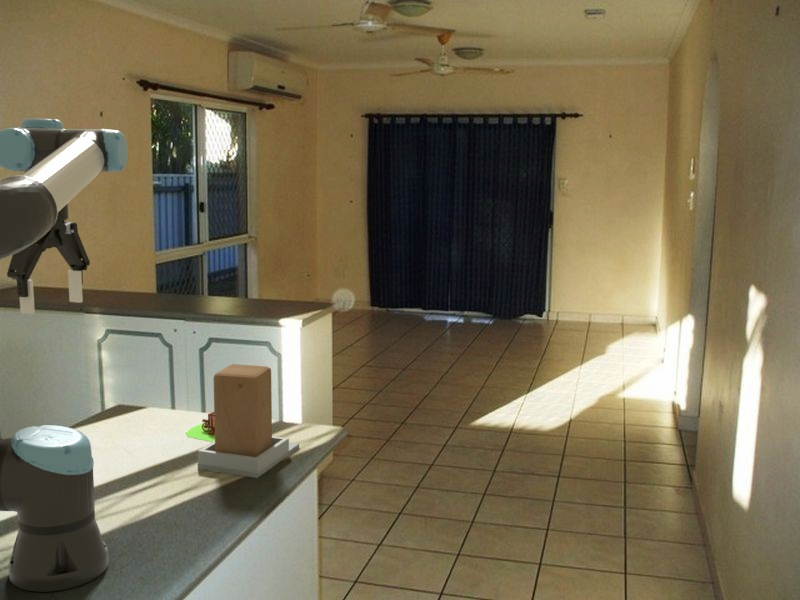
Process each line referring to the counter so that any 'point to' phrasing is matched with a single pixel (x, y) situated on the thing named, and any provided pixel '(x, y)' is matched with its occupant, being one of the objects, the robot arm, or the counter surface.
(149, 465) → the counter surface
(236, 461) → the open square tray
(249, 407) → the wooden block
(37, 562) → the robot arm
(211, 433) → the wagon
